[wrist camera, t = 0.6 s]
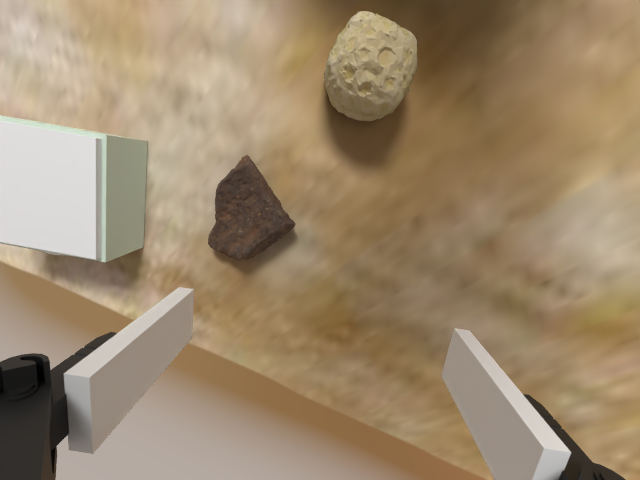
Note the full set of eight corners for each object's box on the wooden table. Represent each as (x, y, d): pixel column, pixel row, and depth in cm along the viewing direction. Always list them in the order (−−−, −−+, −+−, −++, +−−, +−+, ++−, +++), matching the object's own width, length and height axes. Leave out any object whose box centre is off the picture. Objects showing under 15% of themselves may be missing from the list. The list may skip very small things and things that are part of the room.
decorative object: (375, 130, 39) (442, 108, 31) (309, 127, 34) (369, 101, 26) (370, 53, 38) (439, 9, 30) (300, 38, 33) (362, -21, 24)
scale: (39, 121, 38) (-35, 109, 30) (147, 141, 38) (100, 133, 30) (43, 235, 42) (-22, 250, 34) (143, 253, 41) (100, 272, 34)
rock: (249, 154, 37) (241, 153, 34) (301, 221, 39) (298, 227, 36) (185, 207, 39) (171, 212, 36) (237, 268, 41) (228, 278, 38)
